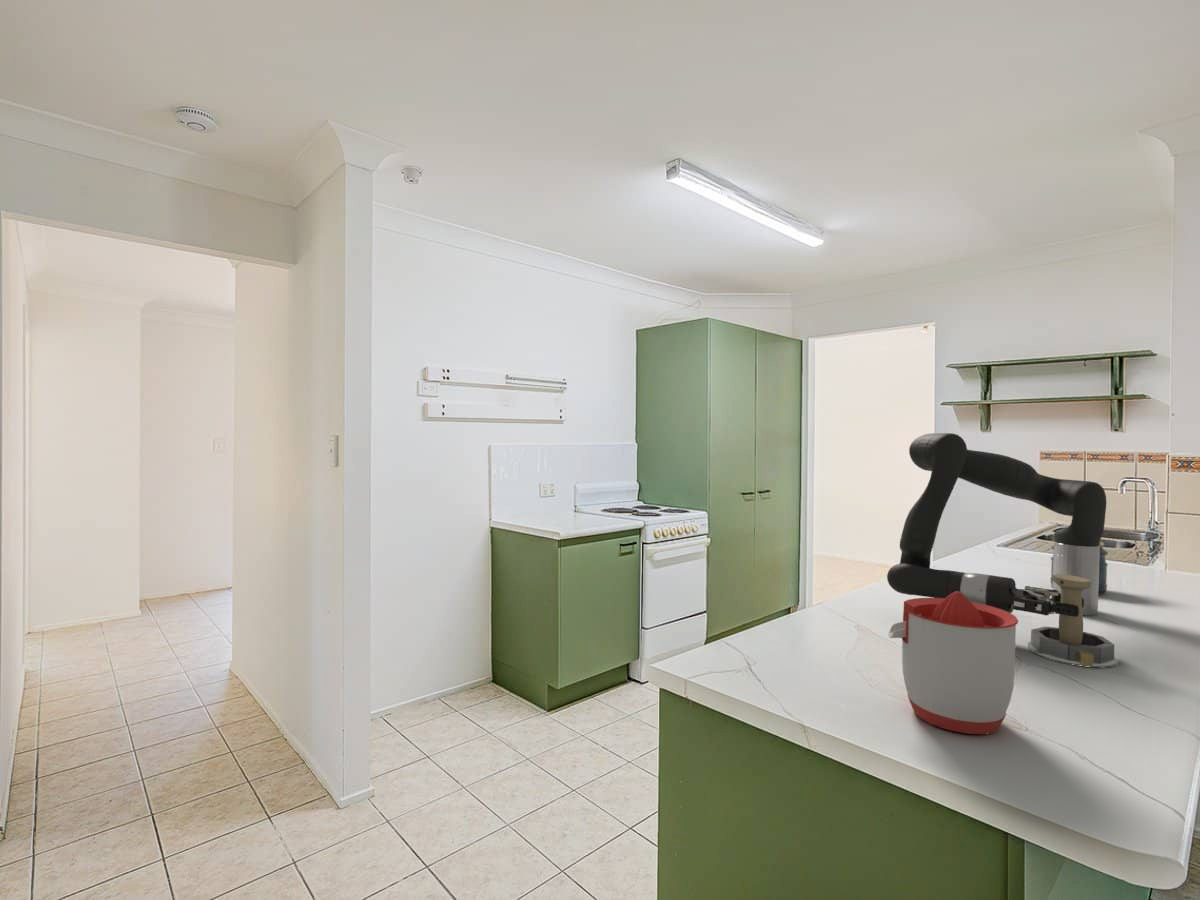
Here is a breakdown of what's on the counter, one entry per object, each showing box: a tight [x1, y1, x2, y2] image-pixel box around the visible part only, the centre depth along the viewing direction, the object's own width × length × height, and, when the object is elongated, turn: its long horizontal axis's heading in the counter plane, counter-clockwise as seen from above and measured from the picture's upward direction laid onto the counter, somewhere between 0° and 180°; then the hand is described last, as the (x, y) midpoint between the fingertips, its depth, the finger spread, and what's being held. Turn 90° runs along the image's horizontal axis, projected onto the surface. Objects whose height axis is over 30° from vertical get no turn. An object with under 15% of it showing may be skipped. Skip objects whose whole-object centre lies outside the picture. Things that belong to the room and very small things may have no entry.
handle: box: [1053, 574, 1091, 645], centre depth 124 cm, size 5×6×15 cm
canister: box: [1049, 540, 1109, 595], centre depth 176 cm, size 13×13×18 cm
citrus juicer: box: [888, 591, 1019, 735], centre depth 95 cm, size 16×17×20 cm
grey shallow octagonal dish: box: [1027, 626, 1118, 668], centre depth 124 cm, size 15×14×4 cm
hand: (1081, 607), depth 122 cm, fingers open, 8 cm apart
